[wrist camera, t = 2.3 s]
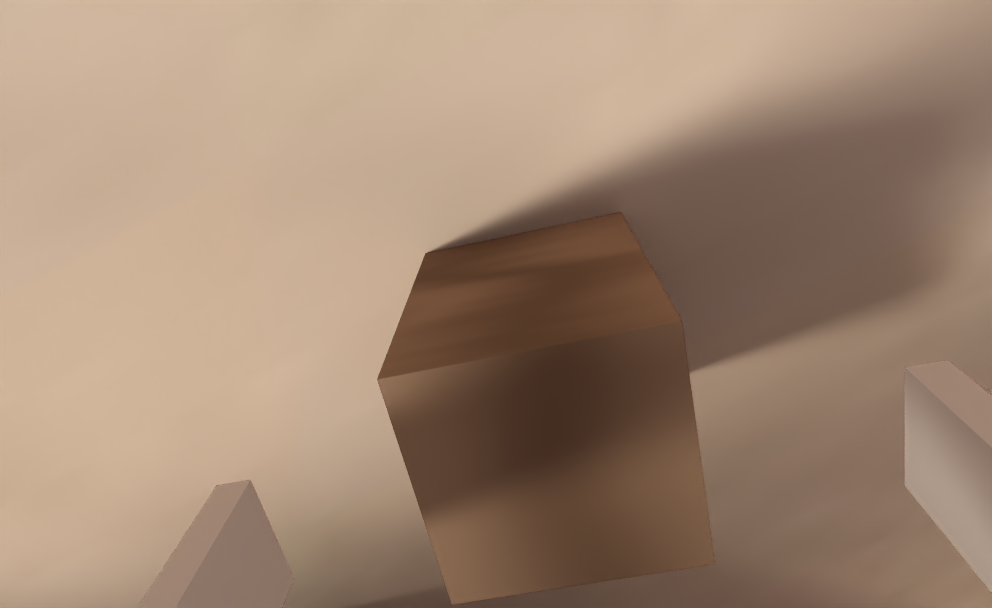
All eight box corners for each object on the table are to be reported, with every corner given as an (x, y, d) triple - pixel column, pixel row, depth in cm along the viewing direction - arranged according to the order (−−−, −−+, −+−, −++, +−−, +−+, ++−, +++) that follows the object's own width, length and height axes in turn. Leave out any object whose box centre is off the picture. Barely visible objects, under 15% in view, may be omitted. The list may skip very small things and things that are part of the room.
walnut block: (471, 418, 23) (451, 604, 16) (425, 253, 21) (377, 379, 13) (648, 385, 22) (714, 564, 15) (620, 211, 20) (682, 320, 13)
